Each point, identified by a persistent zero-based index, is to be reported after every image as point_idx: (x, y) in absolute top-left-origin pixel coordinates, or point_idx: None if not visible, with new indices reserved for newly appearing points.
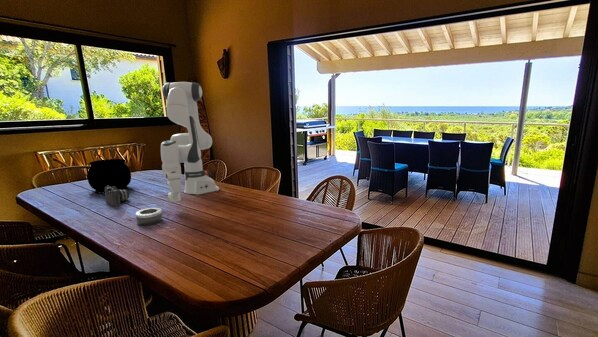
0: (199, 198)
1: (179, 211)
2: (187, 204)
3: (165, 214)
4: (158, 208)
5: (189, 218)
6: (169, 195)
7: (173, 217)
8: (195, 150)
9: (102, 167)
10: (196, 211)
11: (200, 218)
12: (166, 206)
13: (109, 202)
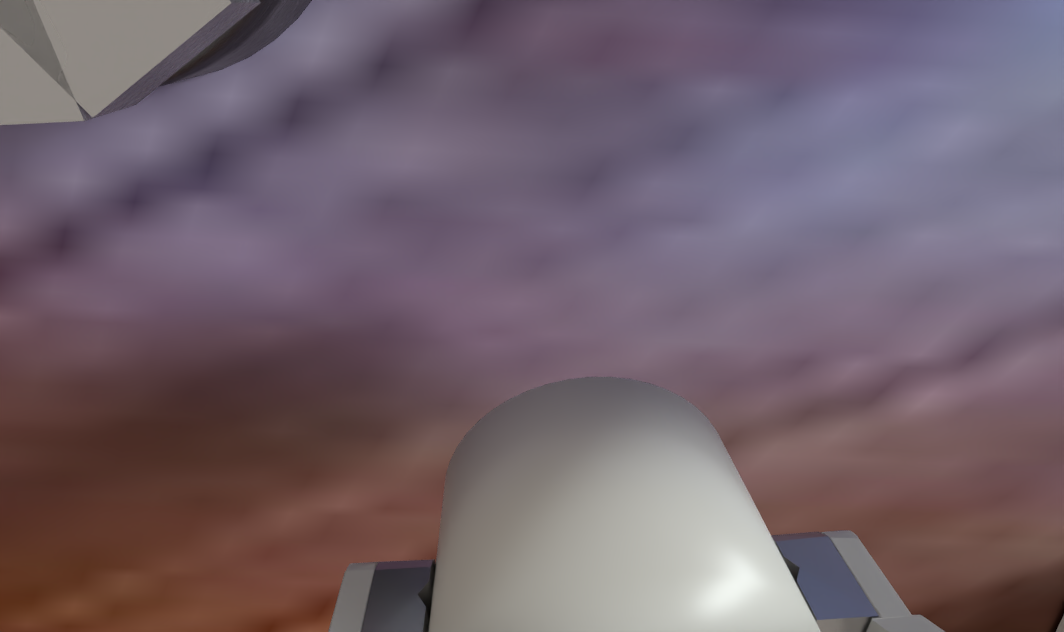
0: (910, 597)
1: (512, 381)
2: (778, 485)
3: (462, 166)
4: (111, 45)
5: (107, 474)
6: (510, 571)
7: (223, 283)
8: None
9: None
10: (397, 552)
11: (77, 572)
12: (936, 215)
13: None
